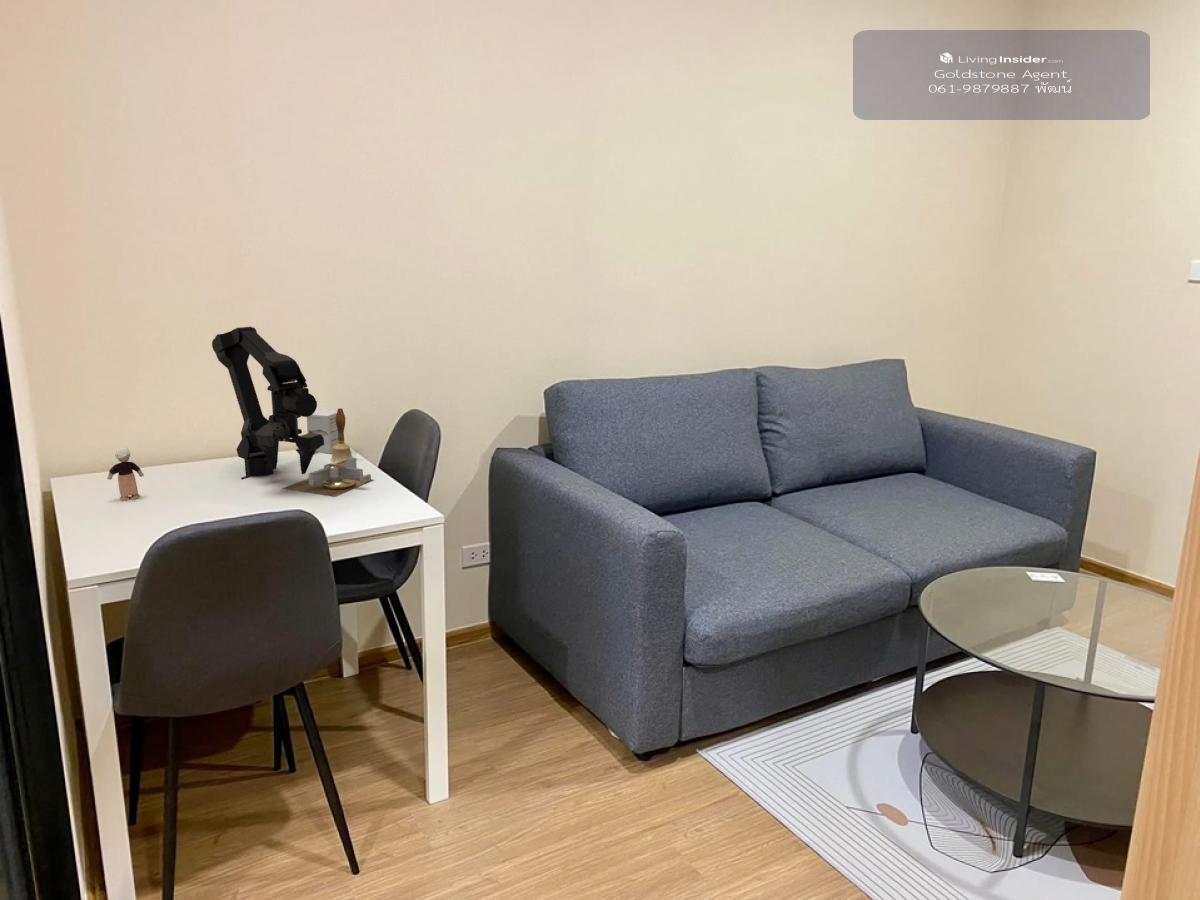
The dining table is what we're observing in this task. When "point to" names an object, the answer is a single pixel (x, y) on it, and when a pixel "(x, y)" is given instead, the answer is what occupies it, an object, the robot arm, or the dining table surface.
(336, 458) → the hand bell
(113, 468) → the grandmother figurine
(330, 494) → the stand
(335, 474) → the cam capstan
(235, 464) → the dining table surface
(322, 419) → the supplement box
